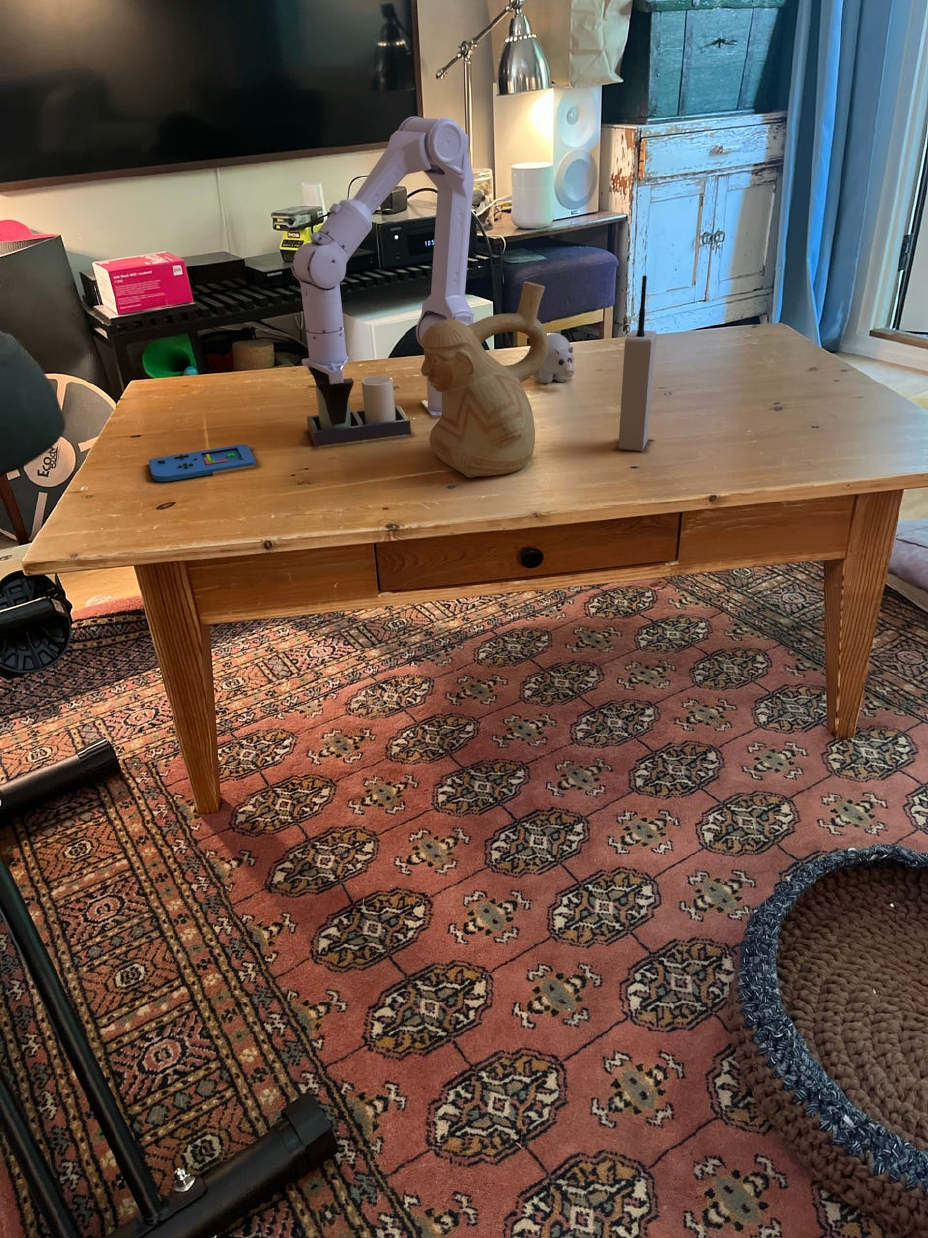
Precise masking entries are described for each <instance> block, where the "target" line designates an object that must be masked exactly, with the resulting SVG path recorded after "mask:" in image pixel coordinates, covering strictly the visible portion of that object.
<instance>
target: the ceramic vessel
mask: <svg viewBox="0 0 928 1238" xmlns="http://www.w3.org/2000/svg"><path fill="white" fill-rule="evenodd" d="M545 289H546V287H545V286H544V285H542V284H539V283H535V282H529V281H524V282H523V283H522V289H521V290H522V291H521V295H520V300H519V304H518V309H517V311H516V312H514V313H498V314H494V315H489V316H487V317H484V318H482V319H479V320H478V321H475V322H473V324H471V325H468V326H467V325H465V324H464V323H462V322H460V321H458V320H452V319H446V320H441V321H438V322H436V323H434V324H433V325H431V326H430V327H429V328H428V329H427V330H426V331H425V333H424V335H423V337H422V340H421V344H422V346H423V347H422V346H421V347H422V348H423V354H424V360H423V362H422V365H421V368H420V372H421V374H422V376H424V377H426V376H428V380H429V382H430V383H431V386H433V387H434V388H435V389H436V390H437V391H438V392H442V415H440V418H439V419H438V421H437V422H436V423H435V424H434V425H433V427H432V429H431V431H430V434H429V446H430V447H431V449H432V451H433V452H434V454H435V456H437V457H438V458H439V460H440V461H441V462H443V463H444V464H446V465H447V466H448V467H450V468H452V469H453V470H456V471H458V472H459V473H461V474H463V475H464V476H465V477H466V478H469V479H472V478H477V477H491V476H499V475H505V474H510V473H514V472H517V471H519V470H522V469H524V468H525V467H526V466H527V465H528V464H529V463H530V461H531V459H532V457H533V454H534V450H535V445H536V443H535V442H536V427H535V426H536V425H535V419H534V415H533V414H534V413H533V410H532V406H531V402H530V400H529V398H528V395H527V393H526V391H525V389H524V387H523V386H522V383H523V382H526V381H527V380H529V379H530V378H532V377H534V376H533V375H534V374H535V373H536V372H537V371H538V370H539V369H540V367H541V366H542V364H543V362H544V360H545V358H546V355H547V351H548V337H547V334H548V333H547V330H546V327H544V325H543V323H542V322H541V321H540V320H539V319H538V312H539V308H540V304H541V301H542V298H543V296H544V295H543V294H544V292H545ZM509 332H511V333H512V332H516V333H522V334H524V335H525V336H527V337H528V339H529V343H530V344H529V349H528V352H527V353H526V354H525V356H524V357H523V358H522V359H521V360H520V359H519V361H517V362H515V363H513V364H507V365H504V364H501V363H500V362H499V361H498V360H496V359H495V358H494V357H493V356H491V355H490V353H488V352H487V351H486V350H485V348H484V346H483V345H482V344H483V343H484V342H485V341H486V340H488V339H490V338H491V337H493V336H495V335H498V334H502V333H509Z"/></svg>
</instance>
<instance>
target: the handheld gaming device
mask: <svg viewBox="0 0 928 1238" xmlns="http://www.w3.org/2000/svg"><path fill="white" fill-rule="evenodd" d="M256 464H257V462H256V458H255V456H254V455H253V453H252V451H251V449H250V447H249V446H248V444H246V443H240V444H236V445H230V446H229V445H228V446H224V447H223V446H222V447H217V448H211V449H205V450H199V451H198V450H197V451H193V452H186V453H180V454H174V455H173V454H172V455H167V456H161V457H153V458H150V459H149V460H148V465H149V468H150V472H151V473H150V474H151V477H152V479H153V480H154V481H157V482H173V481H179V480H185V479H190V478H197V477H202V476H208V475H214V473H217V472H223V471H229V470H235V469H240V468H246V467H252V466H255V465H256Z"/></svg>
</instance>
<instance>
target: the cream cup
mask: <svg viewBox="0 0 928 1238" xmlns="http://www.w3.org/2000/svg"><path fill="white" fill-rule="evenodd" d="M361 392H362V403H363V404H362V405H363V409H364V416H365V425H366V424H374V423H382V422H389V421H396V414H395V406H396V403H395V389H394V378H393V377H391V376H388V375H370V376H366V377H364V378H362V379H361Z"/></svg>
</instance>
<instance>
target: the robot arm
mask: <svg viewBox="0 0 928 1238" xmlns="http://www.w3.org/2000/svg"><path fill="white" fill-rule="evenodd" d="M469 139H470V138H469V136H468V134H467V133H466V132H465V130H464V129H462V127H461V126H460V124H459V123H458V122H457V121H455V120H454V119H453V118H449V117H441V118H428V117H420V116H410V117H407V118H406V119H404V120H403V121H402V123H400V126H399V128H398V129H397V130H396V131H395V132H394V133H392V134H391V136H390V138H389V141H388V144H387V147H386V149H385V151H384V152H383V154H382V155H381V156H380V157H379V159H378V161H377V162H376V163H375V165H374V167H373V168H372V169H371V171H370V173H369V174H368V176H367V177H366V179H365V180H364V182H363V183H362V184H361V186H360V188H359V189H358V191H357V192H356V194H355V195H354V196H353V198H352V199H342V200H340V201H339V202H338V203H333V204H332V205H331V206H330V207H329V212H330V214H329V216H327V218H326V220H325V221H324V222H323V224H321V226H320V227H319V228H318V230H317V231H313V233H312V234H311V235H310V236H309V238H310V239H311V240H310V242H306V243H303V244H301V245H300V246H299V247H298V248H297V250H296V251H295V253H294V255H293V261H292V263H291V264H290V269H291V272H292V275H293V276H294V278H295V279H296V280H297V281H298V282H299V284H300V293H301V300H302V308H303V318H304V325H305V333H306V342H307V350H308V357H307V358H302V359H301V364H302V366H303V367H307V369H308V371H309V372H310V374H311V375H312V377H313V379H314V382H315V386H316V385H317V387H318V388H319V390H320V391H321V393H322V395H323V398H324V401H325V404H326V407H327V411H328V415H329V418H330V421H331V423H332V425H336V424H344V423H345V421H346V415H347V404H348V398H349V399H350V394H351V391H352V389H353V387H354V383H355V380H354V379H353V378H352V377H349V378H344V373H343V372H344V370H345V369H346V366H347V365H348V364H349V356H348V355H347V346H346V345H347V344H346V336H345V327H344V326H345V325H344V315H343V306H342V305H343V303H342V296H341V287H340V282H342V281H344V279H345V277H346V273H347V263H348V261H350V258H351V257H352V256H353V254H354V253H355V252H356V250H357V249H358V248H359V246H360V245H361V243H362V242H363V241H364V240H365V238H366V237H367V236H368V234H369V233H370V232H371V230H372V229H373V220H372V216H373V214H374V213H375V212H376V211H377V210H378V208H379V207H380V206H381V205H382V204H383V202H384V201H385V200H386V199H387V198H388V197H389V195H390V194H392V192H393V191H394V190H395V189H396V187H398V185H400V183H401V182H402V181H403V179H404V178H405V177H406V176H407V175H411V174H415V173H420V172H423V173H424V174H425V175H426V176H427V178H429V180H430V181H431V182H432V184H433V185H434V186H435V188H436V190H437V194H436V209H435V227H434V241H433V242H434V243H433V256H432V271H431V272H432V273H431V287H430V288H431V290H430V294H429V296H428V297H427V298H426V300H424V302H423V303H422V305H421V314H420V316H419V319H418V321H417V323H416V327H415V336H416V337H415V338H416V340H417V342H418V344H419V345H420V346H421V347H422V348H424V347H423V346H422V344H421V340H422V337H423V335H424V333H425V331H426V330H427V329H428V328H429V327H430V326H431V325H433V324H434V323H436V322H438V321H441V320H446V319H452V320H458V321H460V322H462V323H464V324H465V325H467V326H468V325H471V324H473V323H474V316H475V314H474V311H473V309H472V308H471V306H470V304H469V302H468V300H467V299H466V283H467V273H468V258H469V246H470V235H471V234H470V233H471V221H472V211H473V210H472V209H473V196H474V186H475V185H474V183H475V177H474V171H473V167H472V164H471V159H470V157H469V156H470V155H469V152H468V151H469ZM425 377H426V395H427V399H424V400H421V404H422V405H423V406H424V408H425V409H426V410H427V412H428V413H429V414H430V415H431V416H432V417H435V416H442V392H438V391H437V390H436V389H435V388H434V387H433V386H431V383H430V382H429V380H428V376H425Z"/></svg>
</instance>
